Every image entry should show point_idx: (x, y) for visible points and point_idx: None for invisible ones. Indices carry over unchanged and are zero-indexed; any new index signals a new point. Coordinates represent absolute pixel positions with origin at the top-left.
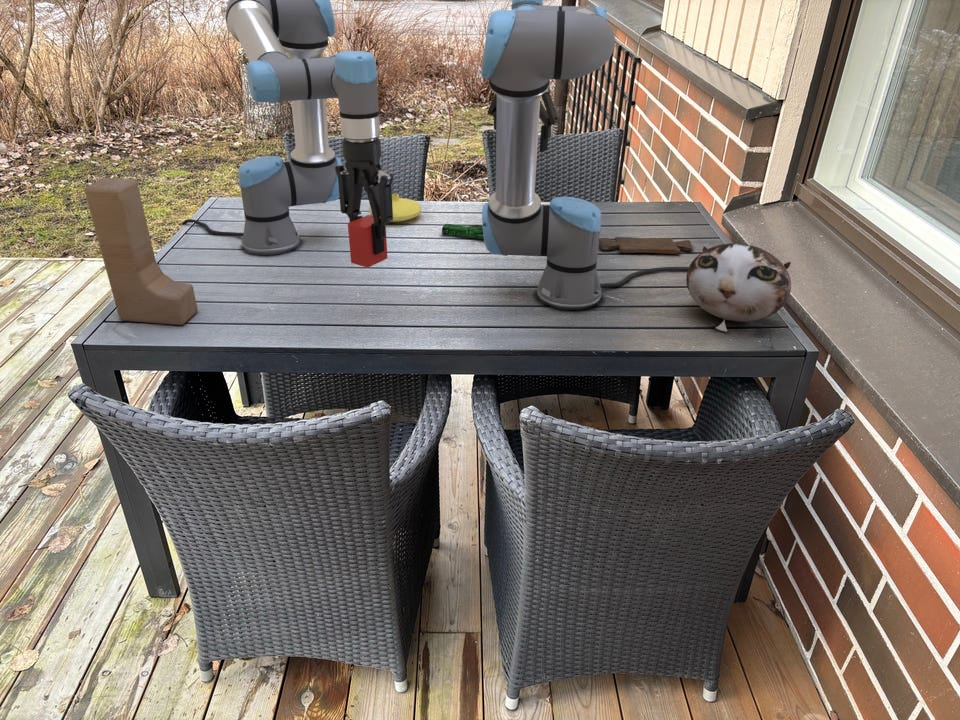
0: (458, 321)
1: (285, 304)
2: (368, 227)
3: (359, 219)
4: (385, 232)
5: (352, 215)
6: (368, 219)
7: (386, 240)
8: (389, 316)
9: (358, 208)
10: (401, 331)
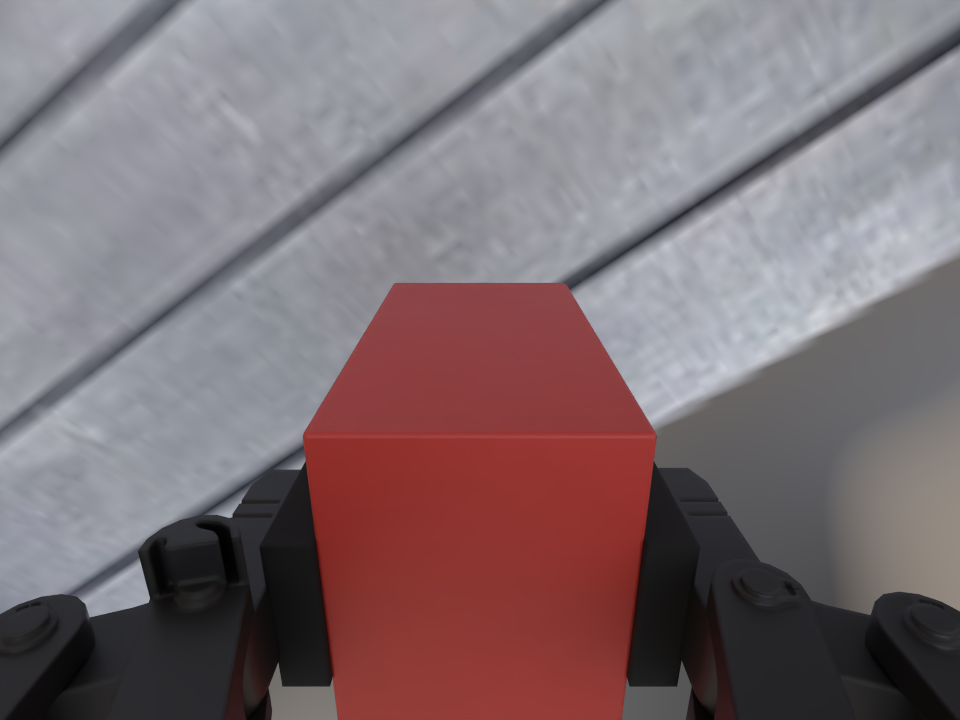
0: (823, 62)
1: (93, 382)
2: (621, 709)
3: (358, 625)
4: (720, 504)
5: (268, 710)
6: (455, 566)
7: (591, 327)
8: (515, 215)
9: (241, 696)
10: (639, 292)
